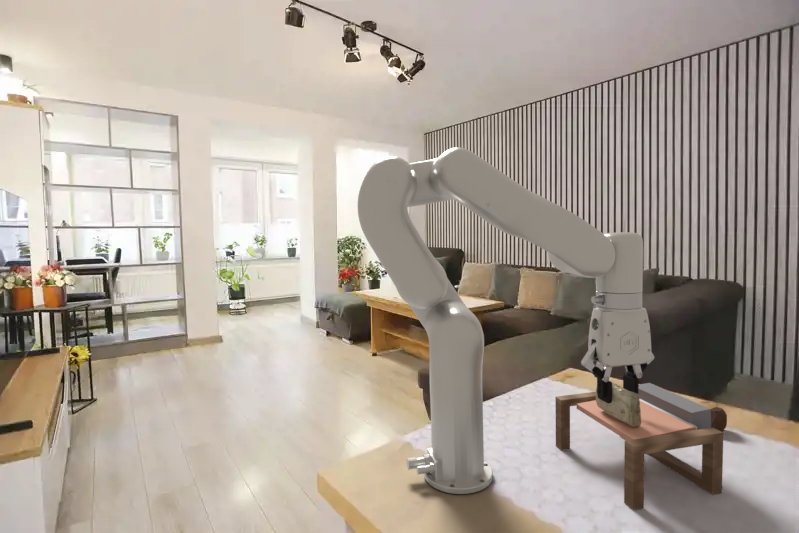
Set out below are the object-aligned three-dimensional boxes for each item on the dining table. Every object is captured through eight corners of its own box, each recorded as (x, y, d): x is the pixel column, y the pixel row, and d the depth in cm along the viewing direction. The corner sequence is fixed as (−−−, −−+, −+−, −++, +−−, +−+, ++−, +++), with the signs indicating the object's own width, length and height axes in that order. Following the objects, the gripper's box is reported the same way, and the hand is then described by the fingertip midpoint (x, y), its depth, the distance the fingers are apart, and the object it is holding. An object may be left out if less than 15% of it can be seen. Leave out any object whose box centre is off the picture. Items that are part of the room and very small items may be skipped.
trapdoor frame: (633, 510, 70) (633, 446, 69) (555, 445, 92) (555, 396, 91) (721, 493, 74) (723, 432, 73) (627, 435, 95) (627, 387, 95)
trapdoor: (635, 457, 73) (634, 428, 73) (577, 418, 89) (575, 394, 88) (716, 438, 77) (715, 411, 76) (646, 404, 92) (645, 381, 92)
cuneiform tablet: (602, 400, 89) (652, 426, 77) (583, 405, 88) (632, 432, 76) (600, 366, 88) (650, 387, 76) (581, 371, 87) (629, 393, 75)
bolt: (655, 415, 109) (722, 438, 95) (643, 409, 107) (710, 431, 93) (662, 393, 110) (730, 412, 96) (651, 386, 108) (718, 405, 94)
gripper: (590, 307, 74) (589, 412, 76) (675, 301, 78) (673, 401, 79) (564, 300, 82) (564, 396, 83) (643, 295, 85) (642, 387, 87)
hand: (617, 398), depth 81 cm, fingers open, 4 cm apart
